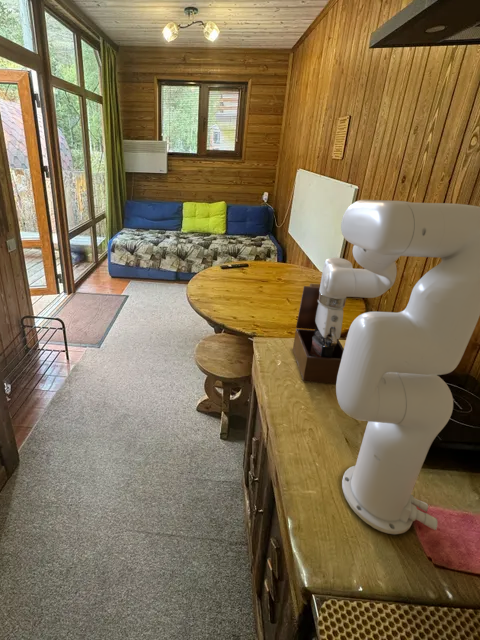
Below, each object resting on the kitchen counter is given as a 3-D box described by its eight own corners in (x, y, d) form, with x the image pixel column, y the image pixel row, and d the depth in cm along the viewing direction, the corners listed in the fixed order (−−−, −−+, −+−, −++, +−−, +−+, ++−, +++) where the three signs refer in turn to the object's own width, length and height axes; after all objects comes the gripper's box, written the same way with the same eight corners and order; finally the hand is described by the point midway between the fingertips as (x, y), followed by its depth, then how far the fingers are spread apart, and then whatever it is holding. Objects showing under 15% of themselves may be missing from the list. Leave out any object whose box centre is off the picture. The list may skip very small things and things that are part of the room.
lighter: (332, 369, 96) (338, 342, 93) (323, 371, 95) (329, 343, 92) (315, 353, 103) (319, 327, 100) (306, 355, 102) (311, 329, 99)
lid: (345, 289, 97) (339, 281, 102) (304, 287, 99) (300, 278, 103) (334, 331, 104) (329, 321, 109) (296, 328, 106) (293, 318, 110)
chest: (345, 385, 93) (351, 361, 90) (302, 381, 94) (307, 357, 91) (329, 352, 108) (333, 331, 105) (292, 349, 109) (296, 328, 106)
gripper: (356, 314, 83) (344, 368, 89) (334, 287, 99) (325, 333, 105) (327, 312, 84) (317, 365, 90) (311, 285, 100) (303, 332, 106)
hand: (321, 348), depth 97 cm, fingers closed on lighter, 7 cm apart
